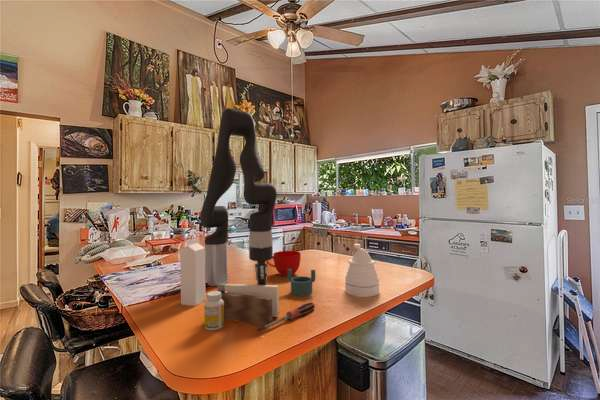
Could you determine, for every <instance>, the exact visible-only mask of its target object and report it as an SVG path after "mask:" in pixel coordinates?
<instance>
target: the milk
mask: <svg viewBox="0 0 600 400" xmlns="http://www.w3.org/2000/svg"><path fill="white" fill-rule="evenodd" d="M179 254H180V255H179V256H180V257H179V260H180V261H179V263H180V264H179V267H180V305H183V306H193V307H196V306H198V305H200V304H202V303H203V302H206V301H207V300H206V299H207V293H206V284H205V246H203V245H201V244H200V243H199V242H198V238H195V239H192V240H188V241H187V245H186V246H185V247H183V248H181V249H180V251H179Z"/></svg>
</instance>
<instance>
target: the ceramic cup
mask: <svg viewBox="0 0 600 400" xmlns="http://www.w3.org/2000/svg"><path fill="white" fill-rule="evenodd" d="M301 255H302V253H301V252H300V251H297V250H296V251H294V250H281V251H280V250H279V251H276V252H274V253H273V257H272V260H273V262H274V264H272V263H270V262H269V260H266V261H265V263H267V265H268V266H271V267H273V268H275V269H276V271H277V273H279V274H280V276H283V277H288V269H292V276H294V275H295V273H296V272H297V271H298V270H299V267H300V263H301V257H302V256H301Z"/></svg>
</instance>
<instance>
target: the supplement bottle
mask: <svg viewBox="0 0 600 400" xmlns="http://www.w3.org/2000/svg"><path fill="white" fill-rule="evenodd" d="M221 297H222V296H221V292H219V291H217V290H213V291H209V292H207V293H206V299H207V300H205V301H204V310H203V311H204V328H205V330H207V331H210V332H211V331H218V330H220V329H223V327H224V325H225V319H224V301H223V300H222V299H221Z"/></svg>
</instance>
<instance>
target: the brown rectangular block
mask: <svg viewBox="0 0 600 400" xmlns="http://www.w3.org/2000/svg"><path fill="white" fill-rule="evenodd" d="M219 292H221V296H222V297H221V299H222V300H223V301H224V320H228V321H235V322H242V323H248V324H255V325H262V326H266V325H268V324H270V323H272V322H273V317H272V298H266V297H258V296H249V295H240V294H232V293H227V292H226V291H219Z"/></svg>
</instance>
